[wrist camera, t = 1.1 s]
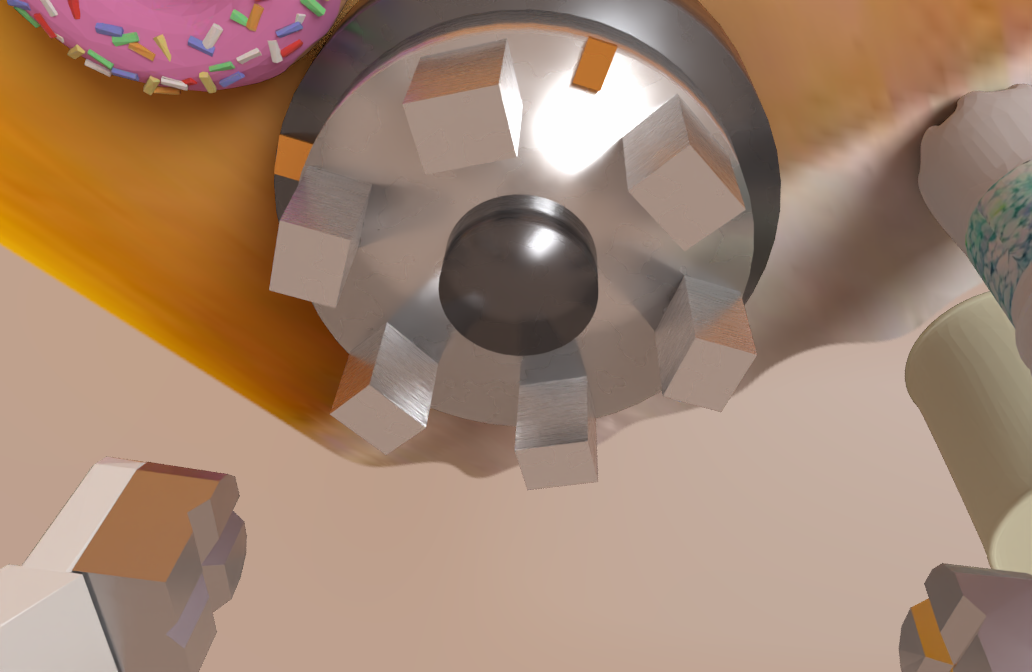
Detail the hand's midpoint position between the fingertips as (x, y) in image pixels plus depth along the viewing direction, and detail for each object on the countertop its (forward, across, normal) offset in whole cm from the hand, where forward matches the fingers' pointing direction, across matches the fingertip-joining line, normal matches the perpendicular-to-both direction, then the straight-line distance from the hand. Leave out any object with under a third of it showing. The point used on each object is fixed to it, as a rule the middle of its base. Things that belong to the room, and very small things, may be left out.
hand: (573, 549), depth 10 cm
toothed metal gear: (+25, +2, +10) cm, 27 cm away
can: (+31, -22, +18) cm, 42 cm away
